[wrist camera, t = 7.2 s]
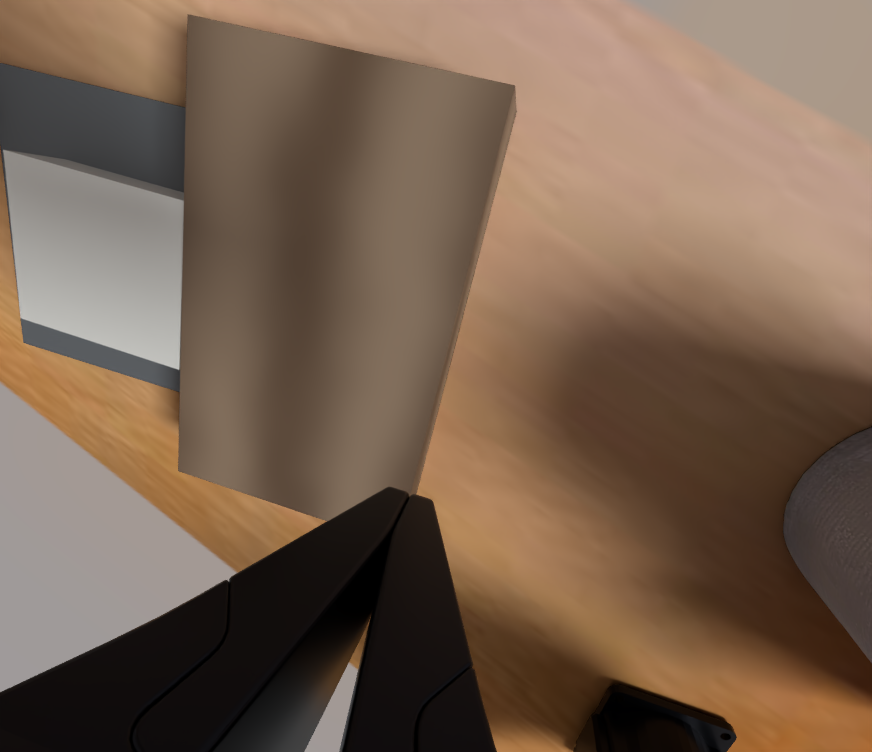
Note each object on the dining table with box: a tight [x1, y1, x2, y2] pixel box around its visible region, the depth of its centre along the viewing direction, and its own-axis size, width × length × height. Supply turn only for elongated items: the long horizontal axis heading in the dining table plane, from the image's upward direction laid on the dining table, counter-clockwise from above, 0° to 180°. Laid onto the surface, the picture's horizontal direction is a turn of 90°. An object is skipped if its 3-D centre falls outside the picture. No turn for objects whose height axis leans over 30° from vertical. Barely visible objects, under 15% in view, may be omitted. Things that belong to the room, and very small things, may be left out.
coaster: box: [3, 150, 184, 370], centre depth 19 cm, size 8×7×2 cm
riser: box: [178, 15, 517, 521], centre depth 18 cm, size 11×18×3 cm, turn 167°
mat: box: [0, 63, 186, 392], centre depth 20 cm, size 11×13×1 cm
